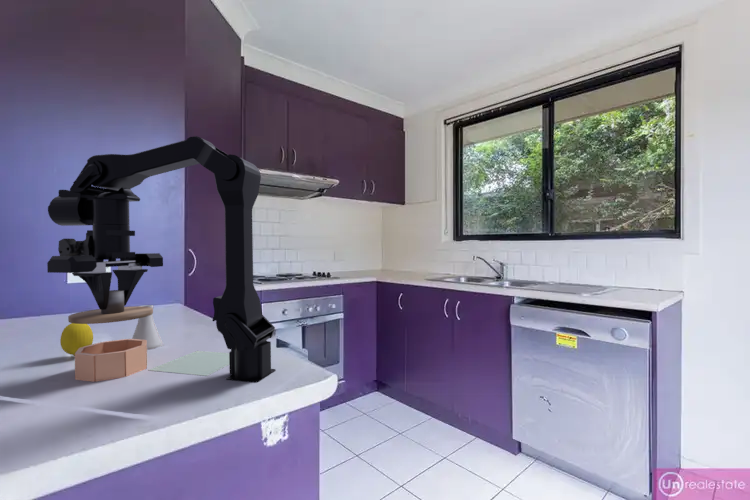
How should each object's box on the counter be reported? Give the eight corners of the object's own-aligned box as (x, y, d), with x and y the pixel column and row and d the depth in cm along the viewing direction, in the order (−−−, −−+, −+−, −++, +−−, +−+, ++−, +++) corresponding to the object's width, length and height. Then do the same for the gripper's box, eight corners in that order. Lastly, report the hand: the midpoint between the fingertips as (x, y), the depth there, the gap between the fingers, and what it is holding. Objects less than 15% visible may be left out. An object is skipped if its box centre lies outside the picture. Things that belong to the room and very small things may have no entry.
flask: (170, 346, 88) (169, 305, 87) (137, 354, 81) (136, 309, 81) (154, 342, 91) (153, 302, 91) (121, 350, 85) (121, 307, 85)
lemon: (75, 361, 77) (74, 323, 77) (53, 360, 78) (53, 322, 78) (100, 354, 82) (99, 318, 82) (79, 352, 83) (79, 317, 83)
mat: (248, 357, 79) (248, 354, 79) (206, 378, 66) (206, 375, 66) (197, 352, 82) (197, 350, 82) (148, 372, 70) (148, 370, 70)
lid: (168, 311, 74) (168, 287, 74) (107, 325, 62) (106, 297, 62) (117, 309, 78) (117, 286, 78) (49, 321, 65) (48, 294, 65)
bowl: (160, 365, 74) (159, 340, 74) (109, 385, 63) (108, 356, 63) (117, 361, 76) (116, 337, 76) (61, 380, 66) (61, 352, 66)
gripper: (122, 228, 81) (123, 299, 81) (22, 223, 62) (24, 315, 63) (164, 227, 78) (165, 300, 78) (72, 222, 60) (74, 318, 60)
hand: (112, 307), depth 70 cm, fingers closed on lid, 4 cm apart
